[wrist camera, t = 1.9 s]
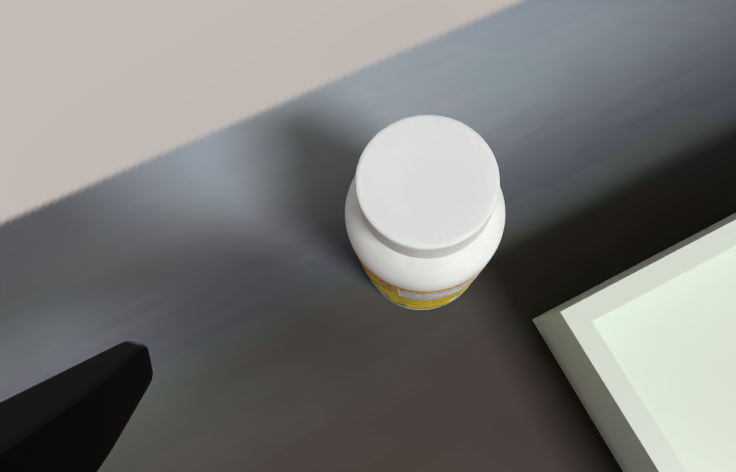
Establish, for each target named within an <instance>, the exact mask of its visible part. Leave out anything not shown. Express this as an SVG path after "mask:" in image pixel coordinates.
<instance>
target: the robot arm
mask: <svg viewBox="0 0 736 472" xmlns="http://www.w3.org/2000/svg"><path fill="white" fill-rule="evenodd" d="M152 375H153V371H152V366H151V361H150V356H149V351H148V348H147V347H146V346H145V345H143V344H139V343H136V342H132V341H125V342H122V343H120V344H118V345H116V346H114V347H112V348H110V349H108V350H106V351H104V352H102V353H100V354H98V355H96V356H94V357H92V358H90V359H88V360H86V361H84V362H81V363H79V364H77V365H75V366H73V367H71V368H69V369H67V370H65V371H63V372H61V373H59V374H57V375H55V376H53V377H51V378H49V379H47V380H45V381H43V382H41V383H39V384H37V385H35V386H33V387H31V388H29V389H27V390H25V391H23V392H21V393H19V394H17V395H15V396H13V397H11V398H8V399H6V400H4V401H2V402H0V472H97V471H98V469H99V468H100V466H101V465H102V463H103V462H104V460H105V459H106V458H107V456H108V455H109V453H110V451H111V450H112V448H113V447H114V445H115V443H116V442H117V440H118V438H119V436H120V435H121V433H122V431H123V430H124V428H125V426H126V424H127V423H128V421H129V419H130V417H131V416H132V414H133V412H134V411H135V409H136V407H137V405H138V404H139V402H140V400H141V398H142V397H143V395H144V393H145V392H146V390H147V388H148V386H149V384H150V382H151V380H152Z"/></svg>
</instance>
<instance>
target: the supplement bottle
mask: <svg viewBox="0 0 736 472" xmlns="http://www.w3.org/2000/svg"><path fill="white" fill-rule="evenodd" d="M345 223H346V229H347V233H348V237H349V240H350V242H351V244H352V247H353V249H354V251H355V253H356V254H357V257H358V258H359V260H360V262H361V264H362V266H363V268H364V270H365V271H366V273H367V275H368V277H369V279H370V280H371V282H372V283H373V285H374V286H375V287H376V288H377V289H378V290H379V291H380V292H381V293H382V294H383V295H384V296H385V297H386V298H388V299H389V300H390V301H392V302H393V303H395V304H397V305H399V306H402V307H405V308H408V309H414V310H428V309H434V308H438V307H441V306H443V305H446V304H448V303H450V302H452V301H453V300H455V299H456V298H458V297H459V296H460V295H461V294H462V293H463V292H464V291H465V290H466V289H467V288H468V287H469V285H470V284H471V283H472V282H473V281H474V279H475V278H476V277H477V276H478V274H479V273H480V272H481V271H482V269H483V268H484V267H485V266H486V265H487V263H488V262H489V260H490V259H491V258H492V256H493V254H494V253H495V251H496V249H497V247H498V245H499V243H500V241H501V237H502V234H503V230H504V225H505V203H504V198H503V194H502V191H501V188H500V177H499V171H498V166H497V162H496V159H495V157H494V155H493V153H492V151H491V149H490V148H489V146H488V145H487V143H486V142H485V141H484V140H483V139H482V137H481V136H480V135H479V134H478V133H476V132H475V131H474V130H472V129H471V128H470V127H468V126H467V125H465V124H463V123H461V122H459V121H457V120H454V119H451V118H448V117H443V116H438V115H417V116H411V117H407V118H404V119H400V120H398V121H396V122H394V123H392V124H390V125H388V126H387V127H385V128H383V129H382V130H381V131H379V132H378V133H377V134H376V135H375V136H374V137H373V138H372V139H371V140H370V141H369V143H368V144H367V146H366V147H365V149H364V150H363V152H362V154H361V156H360V159H359V162H358V165H357V168H356V174H355V177H354V179H353V181H352V183H351V185H350V188H349V191H348V194H347V198H346V204H345Z"/></svg>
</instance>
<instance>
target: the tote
mask: <svg viewBox="0 0 736 472" xmlns="http://www.w3.org/2000/svg"><path fill="white" fill-rule="evenodd" d="M532 321H533V322H534V324H535V326H536V327H537V329H538V331H539V332H540V334H541V336H542V337H543V339H544V341H545V342H546V344H547V346H548V347H549V349H550V351H551V352H552V354H553V356H554V357H555V359H556V361H557V362H558V364H559V366H560V367H561V369H562V371H563V372H564V374H565V376H566V377H567V379H568V381H569V382H570V384H571V386H572V387H573V389H574V391H575V392H576V394H577V396H578V398H579V399H580V401H581V403H582V404H583V406H584V408H585V409H586V411H587V413H588V414H589V416H590V418H591V419H592V421H593V423H594V424H595V426H596V428H597V429H598V431H599V433H600V434H601V436H602V438H603V439H604V441H605V443H606V444H607V446H608V448H609V449H610V451H611V453H612V454H613V456H614V458H615V459H616V461H617V463H618V464H619V466H620V468H621V469H622V471H623V472H736V213H734V214H732V215H730V216H728V217H726V218H724V219H723V220H721V221H719V222H717V223H715V224H713V225H711V226H709V227H707V228H705V229H704V230H702V231H700V232H698V233H696V234H694V235H692V236H690V237H688V238H686V239H684V240H683V241H681V242H679V243H677V244H675V245H673V246H671V247H669V248H667V249H665V250H663V251H662V252H660V253H658V254H656V255H654V256H652V257H650V258H648V259H646V260H644V261H643V262H641V263H639V264H637V265H635V266H633V267H631V268H629V269H627V270H625V271H623V272H622V273H620V274H618V275H616V276H614V277H612V278H610V279H608V280H606V281H604V282H603V283H601V284H599V285H597V286H595V287H593V288H591V289H589V290H587V291H585V292H583V293H582V294H580V295H578V296H576V297H574V298H572V299H570V300H568V301H566V302H564V303H563V304H561V305H559V306H557V307H555V308H553V309H551V310H549V311H547V312H545V313H543V314H542V315H540V316H538V317H536V318H534V319H532Z"/></svg>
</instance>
